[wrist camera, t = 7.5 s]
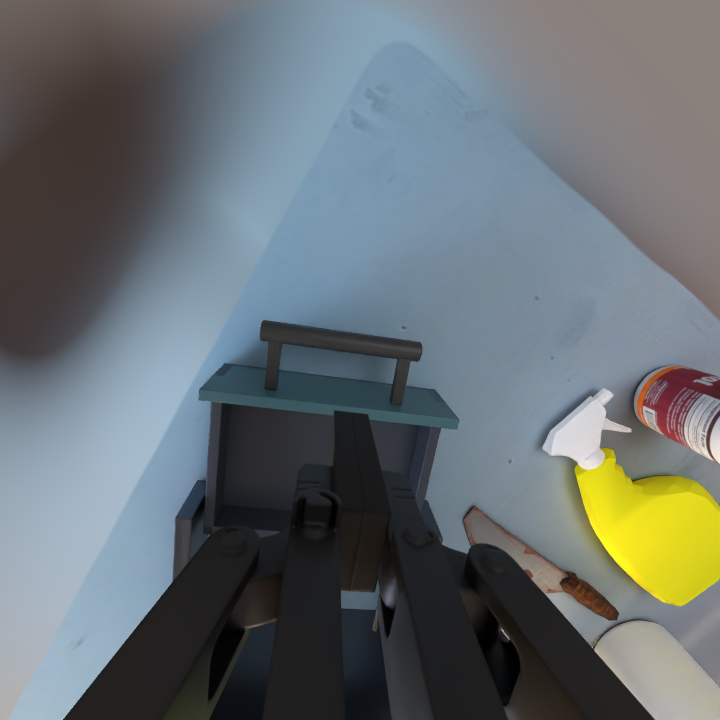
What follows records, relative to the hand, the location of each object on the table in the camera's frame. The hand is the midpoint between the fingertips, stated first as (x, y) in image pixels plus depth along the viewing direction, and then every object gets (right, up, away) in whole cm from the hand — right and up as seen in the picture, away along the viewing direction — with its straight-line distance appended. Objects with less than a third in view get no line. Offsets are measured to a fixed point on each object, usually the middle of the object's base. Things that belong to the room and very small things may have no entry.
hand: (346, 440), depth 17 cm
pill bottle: (+28, 0, +18) cm, 33 cm away
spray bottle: (+27, -10, +20) cm, 35 cm away
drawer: (-2, -2, +16) cm, 16 cm away
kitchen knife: (+18, -18, +22) cm, 34 cm away
